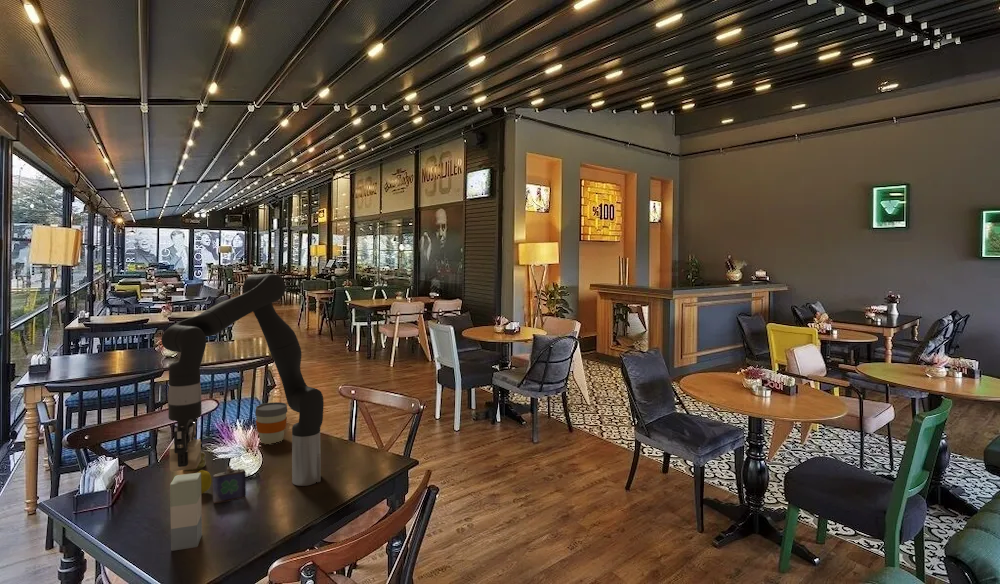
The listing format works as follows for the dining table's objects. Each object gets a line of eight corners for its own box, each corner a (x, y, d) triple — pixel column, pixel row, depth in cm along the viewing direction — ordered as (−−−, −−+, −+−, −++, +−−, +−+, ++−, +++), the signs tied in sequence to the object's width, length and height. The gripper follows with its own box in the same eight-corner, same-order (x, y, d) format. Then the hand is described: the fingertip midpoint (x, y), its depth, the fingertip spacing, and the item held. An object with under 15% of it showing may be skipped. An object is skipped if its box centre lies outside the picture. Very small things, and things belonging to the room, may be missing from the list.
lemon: (202, 498, 160) (202, 474, 160) (188, 496, 161) (187, 472, 161) (215, 491, 165) (215, 467, 165) (201, 489, 167) (201, 465, 166)
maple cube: (200, 460, 138) (200, 438, 137) (196, 468, 132) (195, 446, 132) (175, 462, 136) (175, 441, 135) (169, 471, 130) (169, 449, 130)
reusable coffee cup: (289, 443, 210) (289, 408, 209) (256, 448, 204) (256, 412, 203) (285, 434, 221) (285, 400, 220) (254, 438, 215) (254, 404, 214)
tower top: (201, 493, 138) (201, 472, 138) (196, 503, 133) (196, 481, 132) (176, 496, 136) (175, 475, 136) (170, 506, 131) (170, 484, 130)
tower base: (201, 535, 139) (201, 514, 139) (197, 546, 133) (197, 525, 133) (176, 539, 137) (176, 517, 137) (171, 551, 131) (170, 528, 131)
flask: (213, 504, 156) (212, 471, 156) (213, 500, 159) (212, 467, 158) (246, 498, 161) (245, 465, 161) (245, 494, 164) (245, 462, 163)
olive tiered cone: (209, 466, 185) (209, 439, 185) (188, 472, 179) (188, 445, 179) (199, 461, 189) (199, 435, 189) (178, 468, 183) (178, 441, 182)
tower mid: (201, 514, 139) (201, 493, 138) (196, 525, 133) (196, 503, 133) (176, 518, 136) (176, 496, 136) (170, 529, 131) (170, 506, 131)
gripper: (195, 406, 128) (196, 470, 129) (206, 392, 141) (207, 450, 142) (160, 408, 125) (162, 474, 126) (175, 394, 138) (176, 453, 139)
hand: (185, 461), depth 134 cm, fingers closed on maple cube, 6 cm apart
